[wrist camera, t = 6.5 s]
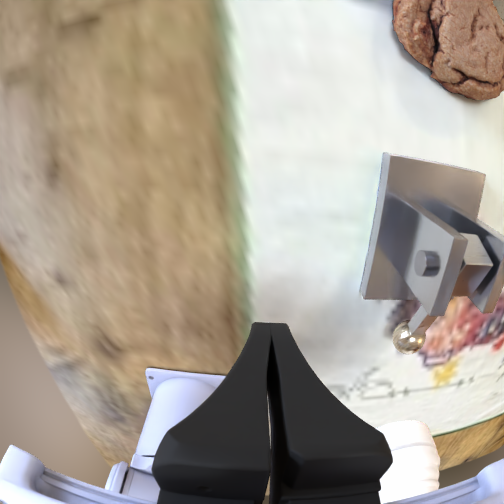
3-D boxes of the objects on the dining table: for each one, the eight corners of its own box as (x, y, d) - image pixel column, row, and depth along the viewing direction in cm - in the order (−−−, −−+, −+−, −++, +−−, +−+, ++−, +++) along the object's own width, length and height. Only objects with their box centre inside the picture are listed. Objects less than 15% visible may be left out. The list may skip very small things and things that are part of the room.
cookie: (467, 128, 17) (493, 132, 14) (357, 15, 14) (372, 1, 12) (518, 50, 13) (542, 49, 10) (425, -52, 11) (443, -66, 8)
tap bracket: (446, 291, 22) (490, 347, 15) (359, 290, 22) (390, 358, 15) (476, 170, 18) (543, 199, 11) (383, 152, 18) (441, 174, 11)
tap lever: (412, 330, 23) (419, 358, 21) (385, 331, 23) (390, 361, 21) (478, 233, 15) (496, 266, 13) (446, 229, 15) (464, 265, 13)
